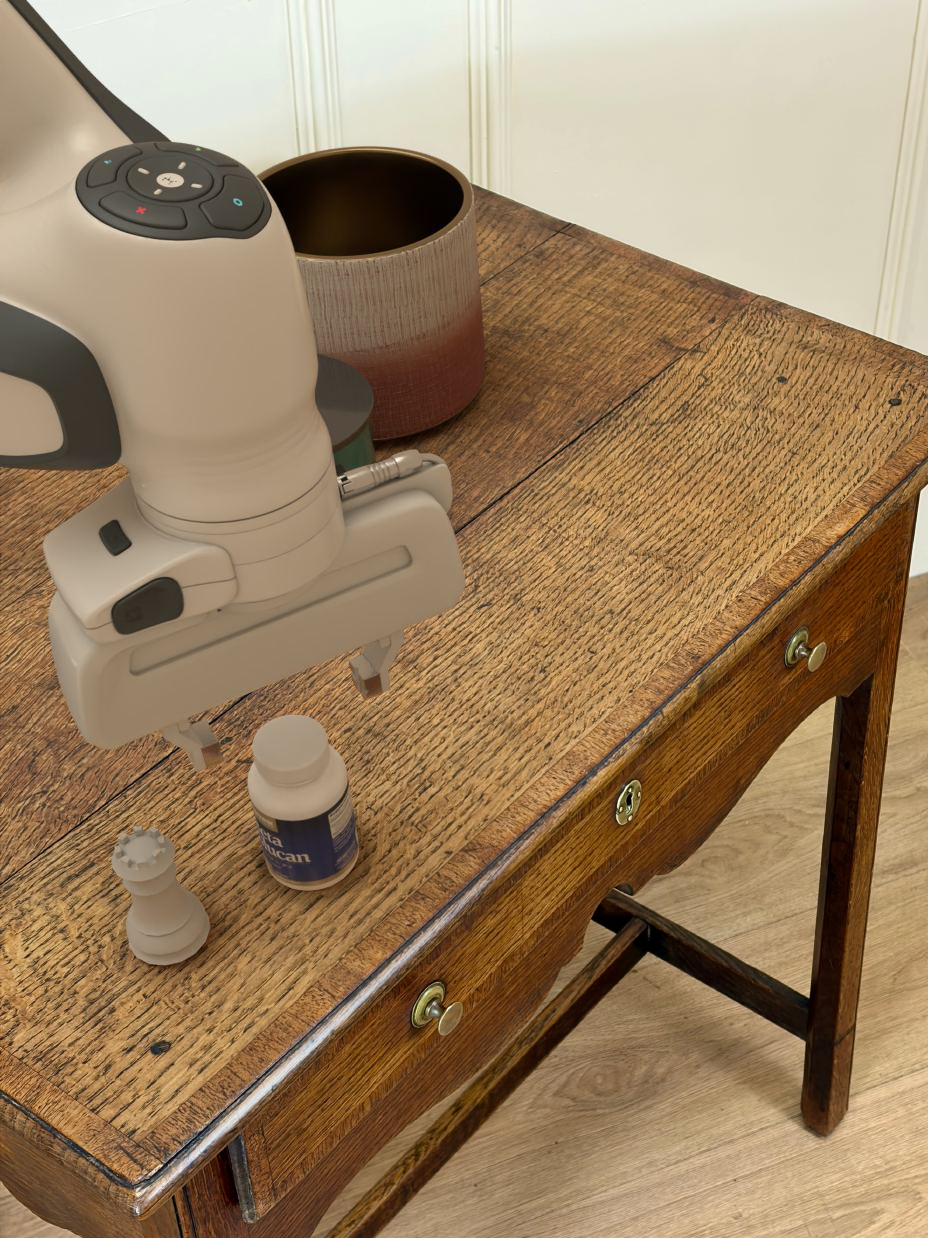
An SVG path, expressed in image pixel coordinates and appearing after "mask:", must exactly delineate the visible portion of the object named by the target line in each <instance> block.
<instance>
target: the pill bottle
mask: <svg viewBox="0 0 928 1238" xmlns="http://www.w3.org/2000/svg"><path fill="white" fill-rule="evenodd" d="M329 742H330V741H329V738H328V734H327V731H326V729H325V728H324V726H323V725H322V724H321V723H320V722H319V721H317V720H316V719H314V718H312V717H311V716H307V715H302V714H286V715H280V716H278V717H275V718H273V719H270V720H268V721H267V722H266V723H264V724H263V725H262V726H261V727H260V728H259V729H258V730H257V731H256V733H255V735H254V737H253V740H252V744H251V750H252V751H251V752H252V755H253V762H252V764H251V766H250V768H249V771H248V774H247V790H248V795H249V799H250V803H251V808H252V812H253V816H254V820H255V823H256V824H255V825H256V828H257V832H258V836H259V840H260V845H261V849H262V854H263V857H264V862H265V864H266V867H267V870H268V871H269V873H270V875H271V876H272V877H273V878H274V879H275V880H276V881H277V882H278V883H280V884H281V885H283V886H286V887H288V888H290V889H293V890H298V891H306V892H307V891H309V892H310V891H318V890H323V889H326V888H329V887H332V886H334V885H336V884H337V883H339V882H341V881H342V880H343V879H344V878H346V877H347V876H348V875H349V874H350V872H351V871H352V870H353V869H354V867H355V865H356V863H357V860H358V858H359V854H360V853H359V852H360V841H359V834H358V828H357V821H356V817H355V815H356V814H355V811H354V804H353V803H354V802H353V797H352V792H351V786H350V779H349V774H348V770H347V766H346V762H345V760H344V758H343V757H342V756H341V754H340V753H339V752H338V751H337V750H336V749H335V748H334V747H333V746H332V745H330V743H329Z"/></svg>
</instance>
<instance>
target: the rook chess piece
mask: <svg viewBox="0 0 928 1238" xmlns="http://www.w3.org/2000/svg"><path fill="white" fill-rule="evenodd" d="M132 830H133V833H131V834H130V835H128V834H127V833H126V832H124V831H123V832H122V833H121V834H120V835H119V836H118V837H117V841H118V845H114V851H113V853H112V856H111V859H110V860H111V868H112V870H113V871H114V872H115V874H116V875H117V877H119V878H122V885H123V886H124V888H125V889H126V890H127V892H129V893H130V895H131V901H132V902H131V905H130V909H129V910H128V914H127V916H126V919H125V931H126V938H127V939H128V947H129V949H130V950H131V952H132V953H133V954H134V956H135V957H136V958H137V959H139V960H141V961H142V962H145V963H147V964H149V965H158V966H171V965H176V964H180V963H182V962H184V961H186V960H188V959H189V958H190V957H192V956H194V955H195V954H196V953H197V952H198V951H199V950H200V948H201V947H202V946H203V945H204V944H205V943H206V941H207V939H208V936H209V934H210V930H211V924H210V918H209V917H210V915H208V913H207V911H206V910H205V909H206V908H205V905H204V904H203V903H202V902H201V900H200V899H199V898H198V897H197V895H196V894H195V893H193V892H191V891H189V890H188V889H187V888H185V887H183V886H182V885H181V884H180V882H179V880H178V878H177V877H176V876H177V874H178V872H177V871H178V869H177V864H176V863H175V861H174V859H175V856H176V846H175V843H174V842H173V841H172V839H171V838H170V837H169V836H167V835H166V834H163V833H161V832H160V829H159V828H157V827H154V826H153V825H150V827H149V829H148V830H145V829H144V826H143V825H142V824H141V825H137V826H132Z"/></svg>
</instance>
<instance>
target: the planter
mask: <svg viewBox="0 0 928 1238" xmlns="http://www.w3.org/2000/svg"><path fill="white" fill-rule="evenodd" d="M256 176H257V177H258V179H259V180H260V181H261V182H262V183H263V185H264V186H265V187H266V189H267V191H268V192H269V194H270V195H271V197H272V198H273V200H274V202H275V203H276V205H277V207H278V209H279V211H280V213H281V216H282V218H283V220H284V222H285V224H286V227H287V230H288V232H289V235H290V238H291V241H292V244H293V247H294V251H295V254H296V257H297V261H298V264H299V268H300V272H301V277H302V281H303V285H304V289H305V294H306V298H307V302H308V307H309V312H310V317H311V322H312V328H313V333H314V339H315V344H316V351H317V354H318V355H324V356H328V357H332V358H335V359H338V360H340V361H343V362H345V363H347V364H349V365H351V366H352V367H354V368H355V369H357V370H358V371H359V372H360V373H362V374H363V375H364V376H365V378H366V379H367V380H368V382H369V383H370V386H371V388H372V391H373V395H374V412H373V416H372V418H371V426H372V434H373V442H374V443H375V442H385V441H392V440H397V439H403V438H408V437H411V436H415V435H417V434H420V433H423V432H427V431H428V430H431V429H434V428H436V427H438V426H440V425H442V424H444V423H445V422H448V421H449V420H450V419H451V418H453V417H455V416H456V415H458V414H459V413H460V412H462V411H463V410H464V409H466V408H467V407H468V405H469V404H471V403H472V402H473V400H474V399H475V398H476V397H477V395H478V393H479V392H480V390H481V387H482V385H483V382H484V378H485V371H486V349H485V348H486V347H485V334H484V320H483V319H484V318H483V306H482V294H481V293H482V292H481V279H480V265H479V254H478V253H479V251H478V237H477V221H476V220H477V219H476V207H475V206H476V203H475V194H474V189H473V186H472V184H471V181H469V179H468V178H467V176H466V175H465V174H464V173H463V172H462V171H460V169H458V168H457V167H455V166H454V165H453V164H452V163H449V162H447V161H446V160H443V159H441V158H439V157H436V156H434V155H430V154H428V153H424V152H420V151H417V150H412V149H406V148H399V147H392V146H383V145H382V146H380V145H358V146H357V145H356V146H344V147H335V148H328V149H323V150H317V151H313V152H308V153H304V154H301V155H299V156H295V157H291V158H289V159H286V160H284V161H281V162H279V163H276V164H274V165H272V166H270V167H267V169H264V170H263V171H261V172H259V173H258V174H257V175H256Z"/></svg>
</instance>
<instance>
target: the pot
mask: <svg viewBox="0 0 928 1238" xmlns="http://www.w3.org/2000/svg"><path fill="white" fill-rule="evenodd" d="M317 358H318V376H317V382H316V387H315V402H316V406H317V409H318V411H319V413H320V415H321V416H322V418H323V420H324V422H325V424H326V426H327V429H328V432H329V435H330V438H331V444H332V452H333V456H334V462H335V468H336V475H339V474H342V473H345V472H348V471H350V470H353V469H356V468H359V467H362V466H367V465H370V464H374V463H377V459H376V451H375V442H373V434H372V426H371V418H372V416H373V412H374V395H373V391H372V388H371V386H370V383H369V382H368V380H367V379H366V378H365V376H364V375H363V374H362V373H360V372H359V371H358V370H357V369H355V368H354V367H352V366H351V365H349V364H347V363H345V362H343V361H340V360H338V359H335V358H332V357H328V356H324V355H318V354H317Z"/></svg>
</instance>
